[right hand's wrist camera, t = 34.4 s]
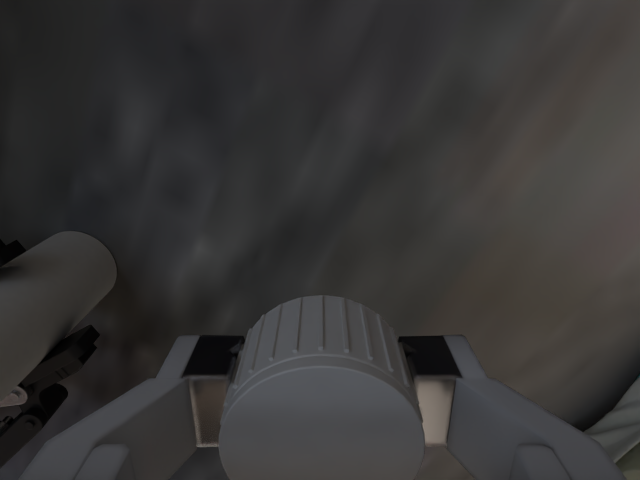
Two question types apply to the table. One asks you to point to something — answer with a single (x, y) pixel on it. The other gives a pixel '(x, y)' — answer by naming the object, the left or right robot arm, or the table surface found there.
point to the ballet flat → (622, 432)
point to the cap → (321, 398)
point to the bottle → (48, 299)
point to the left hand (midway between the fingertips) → (49, 297)
